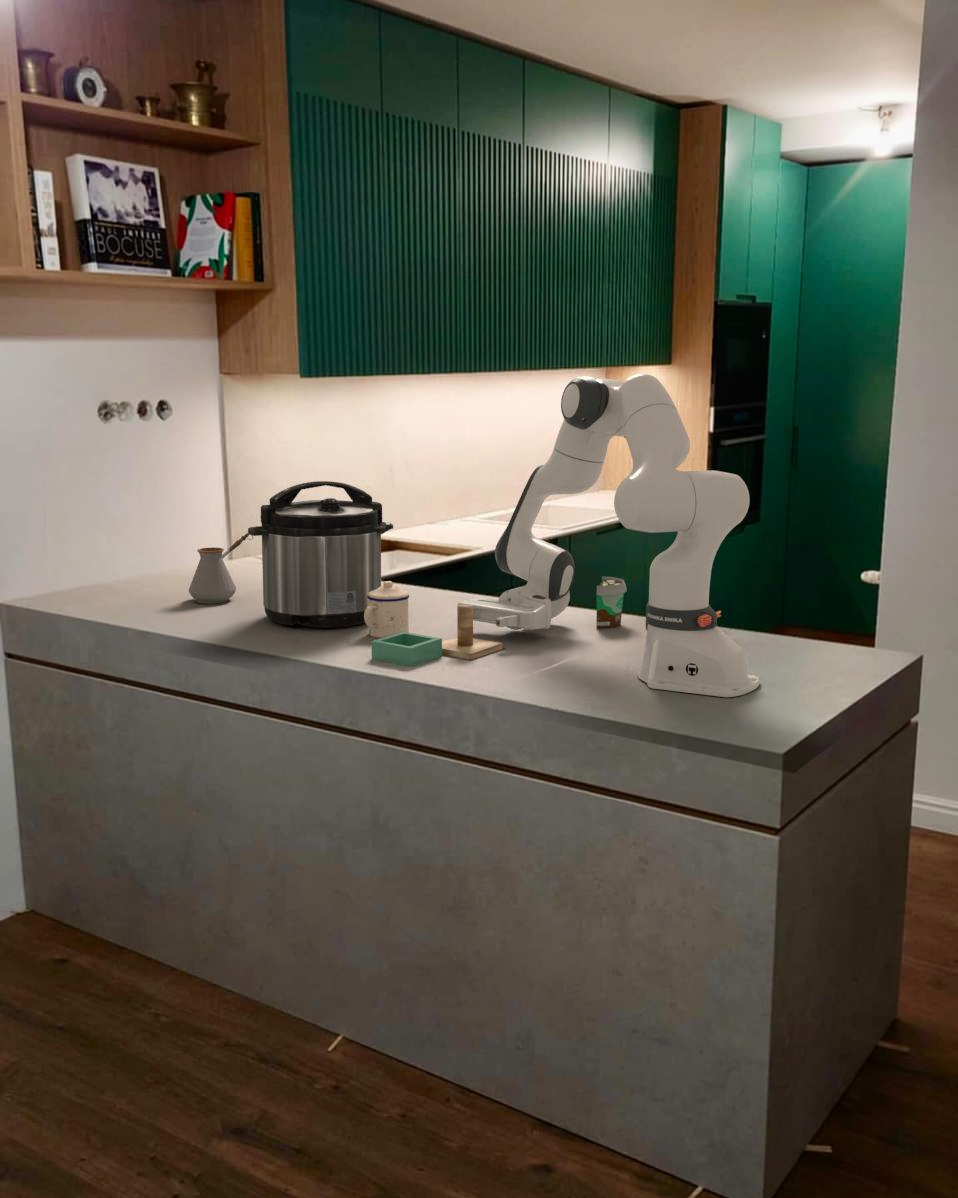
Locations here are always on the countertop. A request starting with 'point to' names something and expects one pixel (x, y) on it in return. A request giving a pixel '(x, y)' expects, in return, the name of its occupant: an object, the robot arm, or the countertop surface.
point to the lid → (467, 638)
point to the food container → (610, 602)
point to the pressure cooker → (320, 556)
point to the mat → (475, 658)
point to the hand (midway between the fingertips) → (480, 619)
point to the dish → (406, 648)
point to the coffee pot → (213, 576)
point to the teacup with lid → (387, 611)
